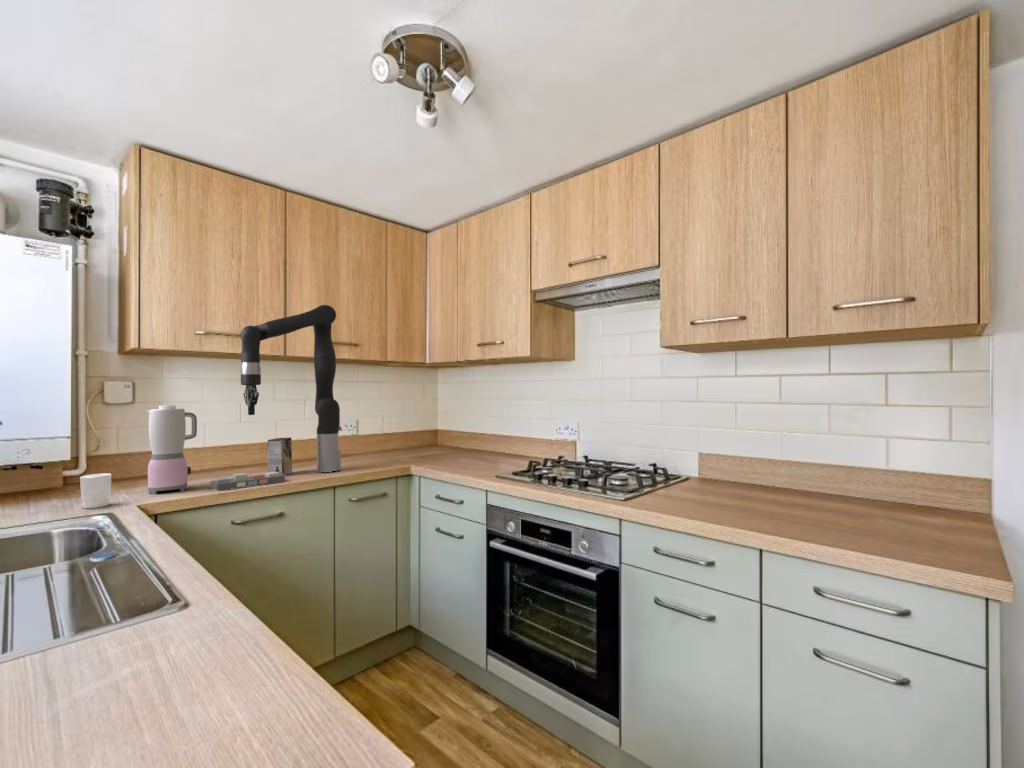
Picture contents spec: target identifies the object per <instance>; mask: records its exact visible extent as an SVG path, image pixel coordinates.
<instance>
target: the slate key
mask: <svg viewBox="0 0 1024 768" xmlns="http://www.w3.org/2000/svg"><path fill="white" fill-rule="evenodd" d="M230 479H231V478H230V477H222V478H221V477H220V478H219V477H218V478H215V480H214V481H215V482H216V483H223V482H230Z"/></svg>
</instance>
